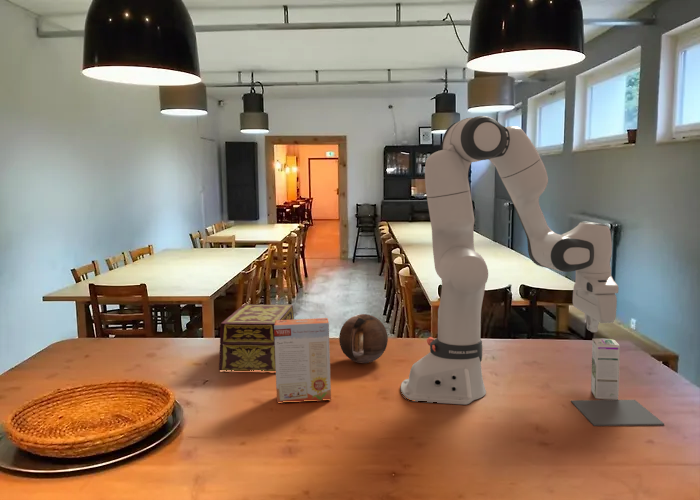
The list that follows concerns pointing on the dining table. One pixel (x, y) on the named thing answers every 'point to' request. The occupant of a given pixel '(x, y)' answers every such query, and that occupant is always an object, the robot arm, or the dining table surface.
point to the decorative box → (251, 337)
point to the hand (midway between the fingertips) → (592, 330)
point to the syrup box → (605, 368)
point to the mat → (616, 413)
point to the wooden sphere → (363, 338)
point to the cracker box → (302, 359)
